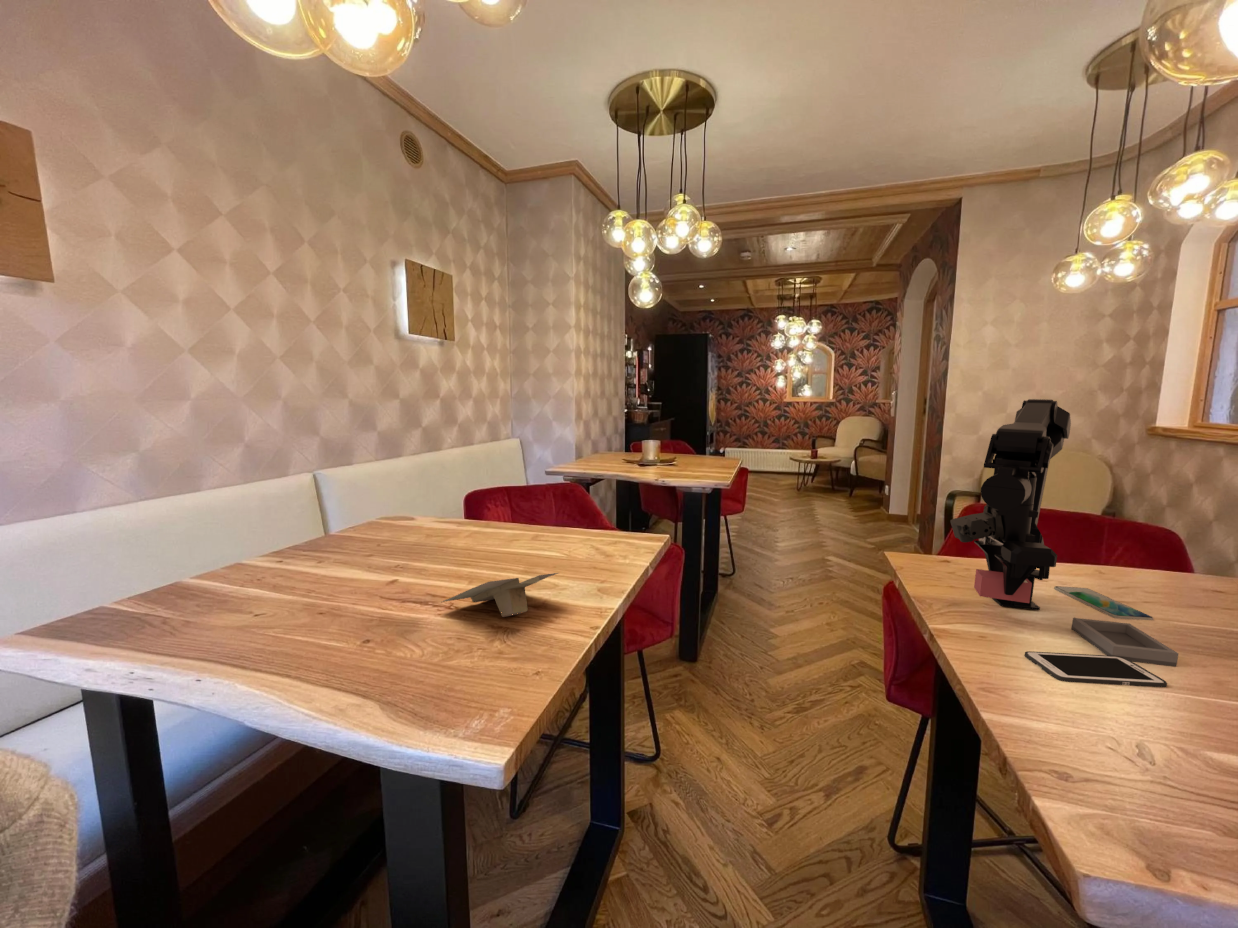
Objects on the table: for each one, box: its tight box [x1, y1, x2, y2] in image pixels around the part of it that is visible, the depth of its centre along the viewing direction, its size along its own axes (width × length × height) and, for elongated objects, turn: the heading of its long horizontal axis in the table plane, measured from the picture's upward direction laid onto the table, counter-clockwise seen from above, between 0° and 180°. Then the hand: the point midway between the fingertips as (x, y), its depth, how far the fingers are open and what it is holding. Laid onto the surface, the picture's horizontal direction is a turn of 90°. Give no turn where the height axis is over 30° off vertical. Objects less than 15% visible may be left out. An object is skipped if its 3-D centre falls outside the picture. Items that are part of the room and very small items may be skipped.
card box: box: [973, 568, 1032, 603], centre depth 90 cm, size 7×4×4 cm, turn 66°
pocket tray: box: [1071, 617, 1179, 667], centre depth 84 cm, size 11×8×2 cm
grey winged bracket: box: [439, 572, 559, 618], centre depth 92 cm, size 16×9×15 cm
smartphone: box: [1053, 585, 1155, 621], centre depth 102 cm, size 7×1×15 cm
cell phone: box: [1024, 650, 1168, 688], centre depth 77 cm, size 8×15×1 cm, turn 85°
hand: (1001, 589), depth 90 cm, fingers closed on card box, 5 cm apart
